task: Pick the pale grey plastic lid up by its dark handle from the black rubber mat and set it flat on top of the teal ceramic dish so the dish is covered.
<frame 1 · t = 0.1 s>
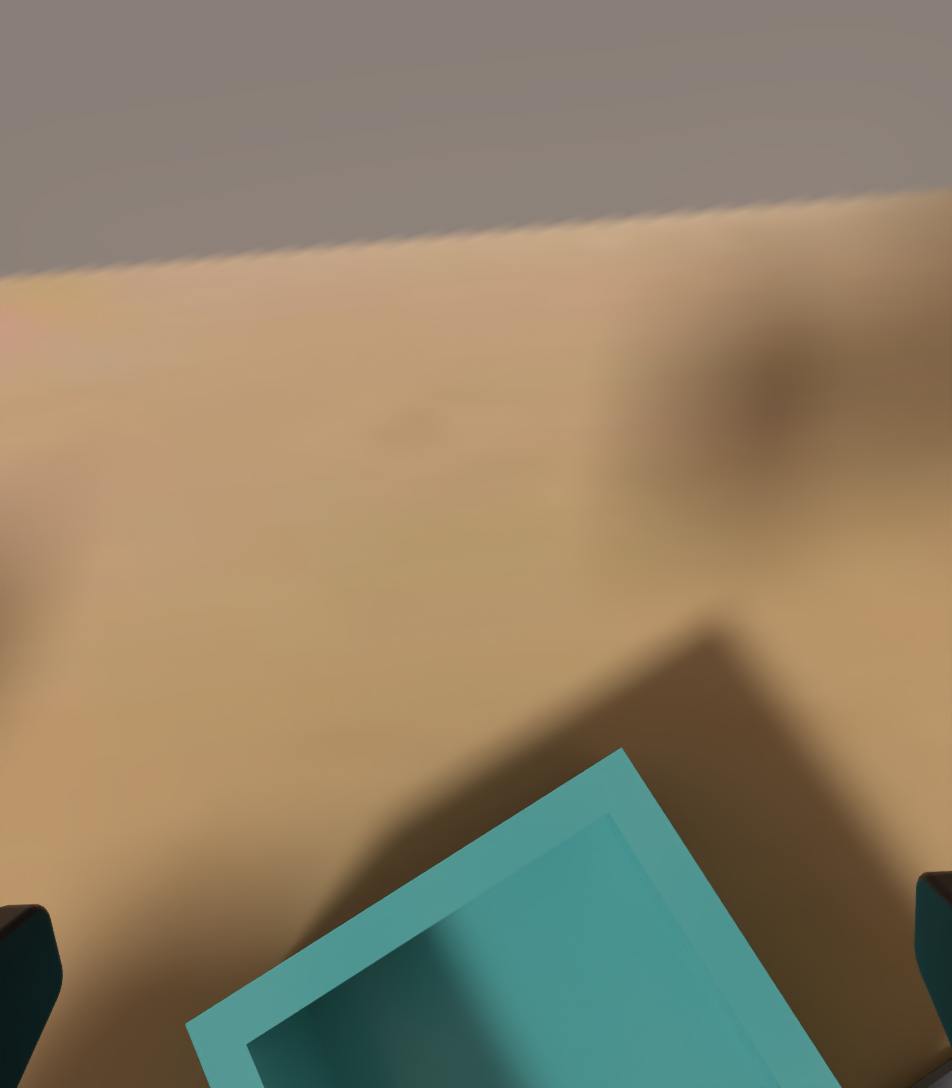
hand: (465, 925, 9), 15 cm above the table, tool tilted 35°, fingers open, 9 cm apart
dish: (549, 1073, 21), on the table
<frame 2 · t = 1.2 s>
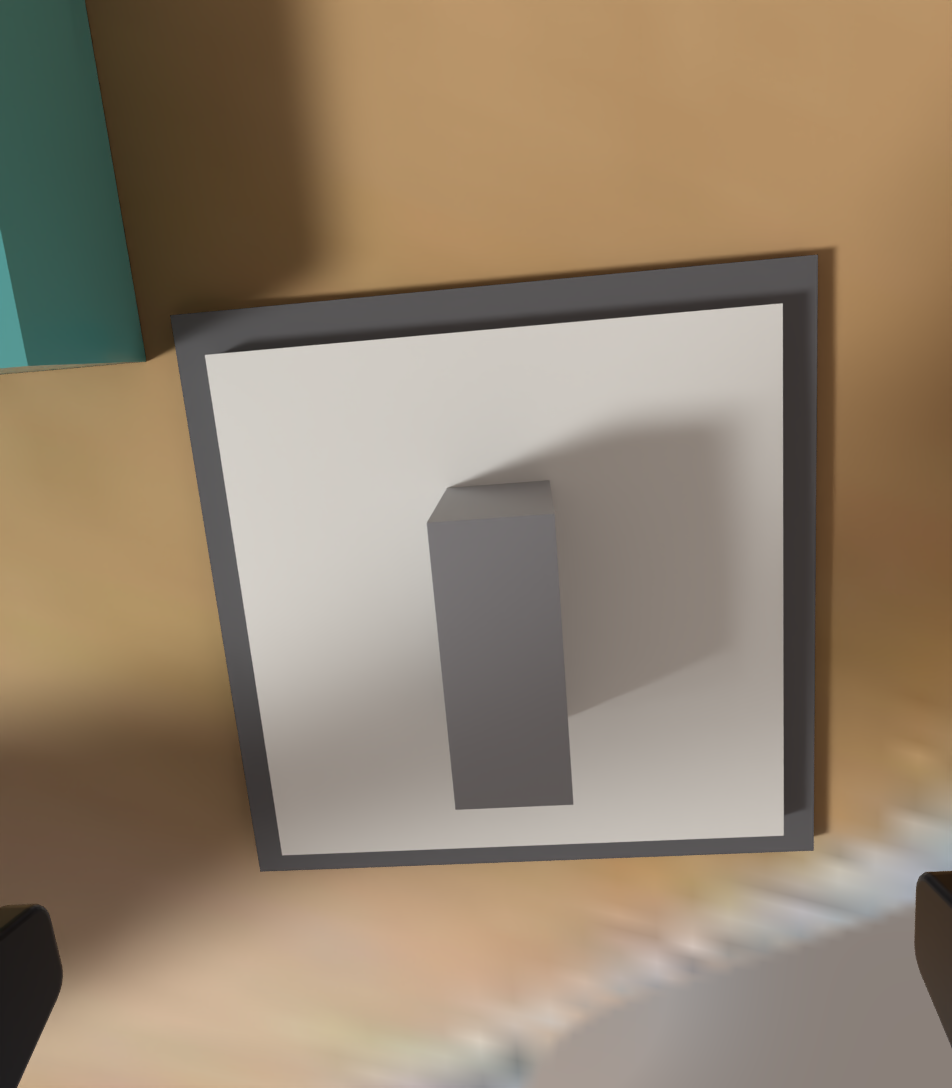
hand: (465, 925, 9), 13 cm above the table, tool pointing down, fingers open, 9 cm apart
lid: (508, 596, 21), resting on mat
mat: (509, 591, 21), on the table
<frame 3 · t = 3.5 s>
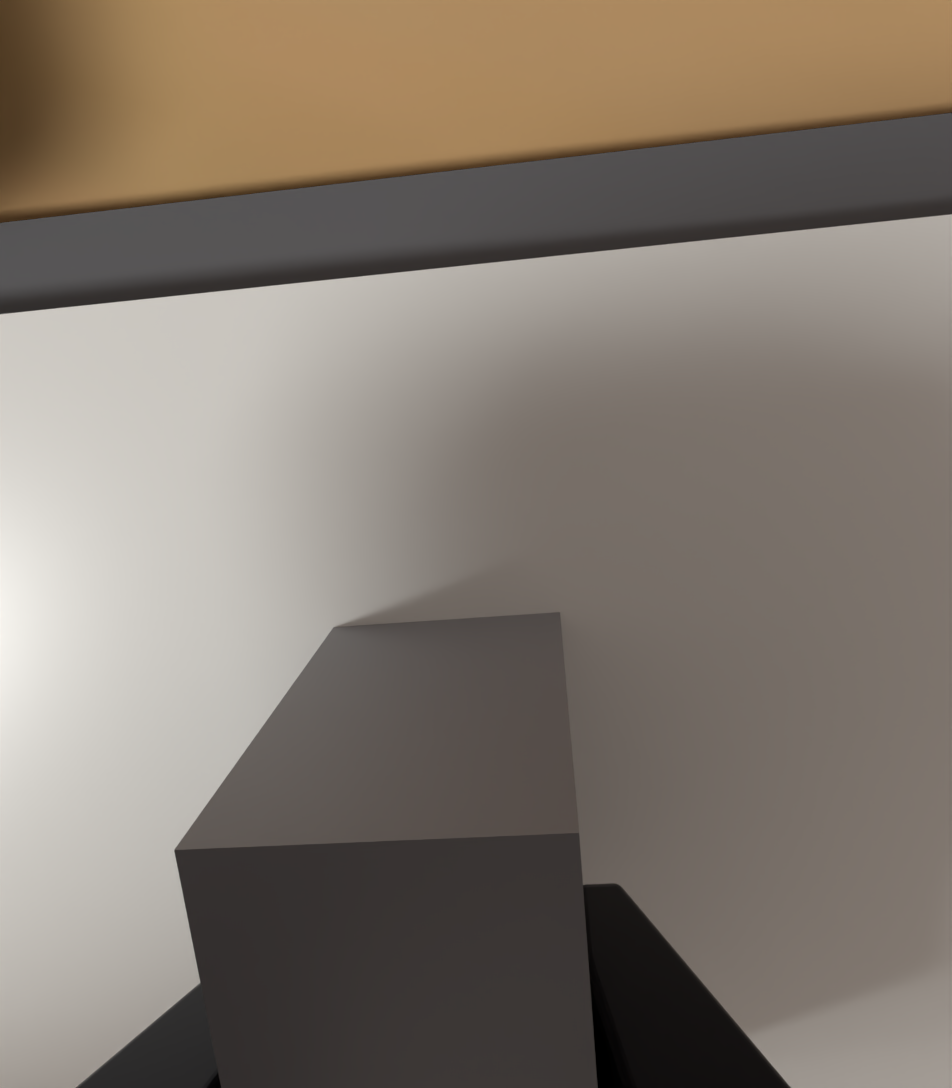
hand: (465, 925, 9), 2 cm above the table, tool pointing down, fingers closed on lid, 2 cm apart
lid: (477, 830, 10), resting on mat, touching gripper
mat: (480, 808, 11), on the table
when the fingers open (8 cm above the table, at t = 7.5 s): lid stays where it is, resting on dish.
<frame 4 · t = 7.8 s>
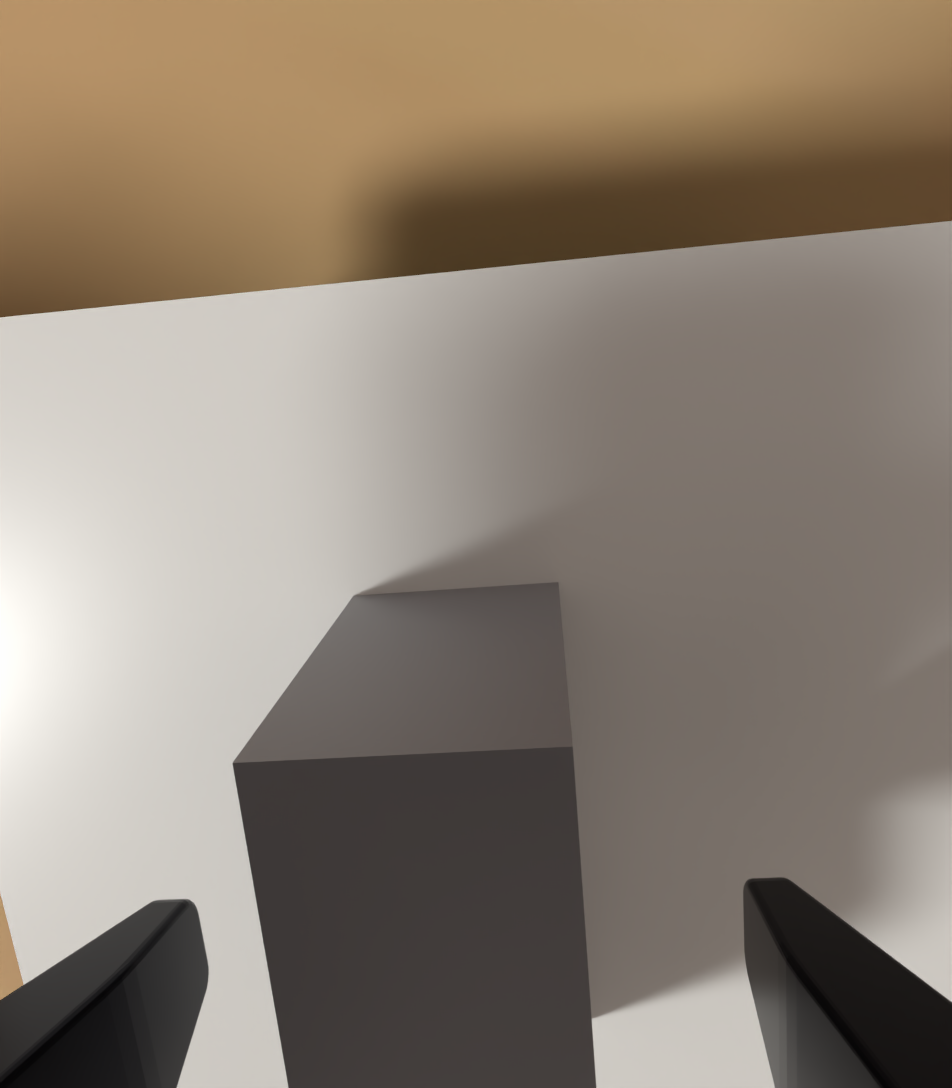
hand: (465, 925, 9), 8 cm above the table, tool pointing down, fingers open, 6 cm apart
lid: (482, 786, 11), point 5 cm above the table, touching dish
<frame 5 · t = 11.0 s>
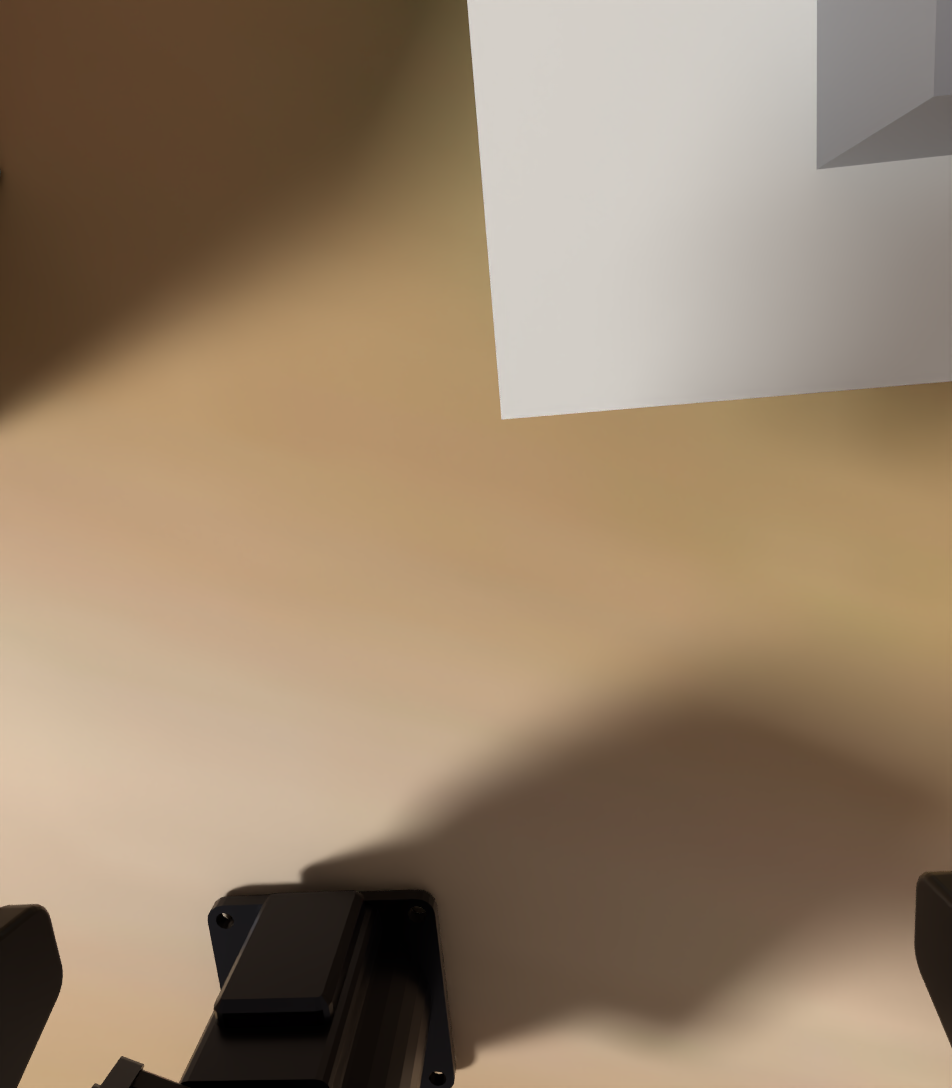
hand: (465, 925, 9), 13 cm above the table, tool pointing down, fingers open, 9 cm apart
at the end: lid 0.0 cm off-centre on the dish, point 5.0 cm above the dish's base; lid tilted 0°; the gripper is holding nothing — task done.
